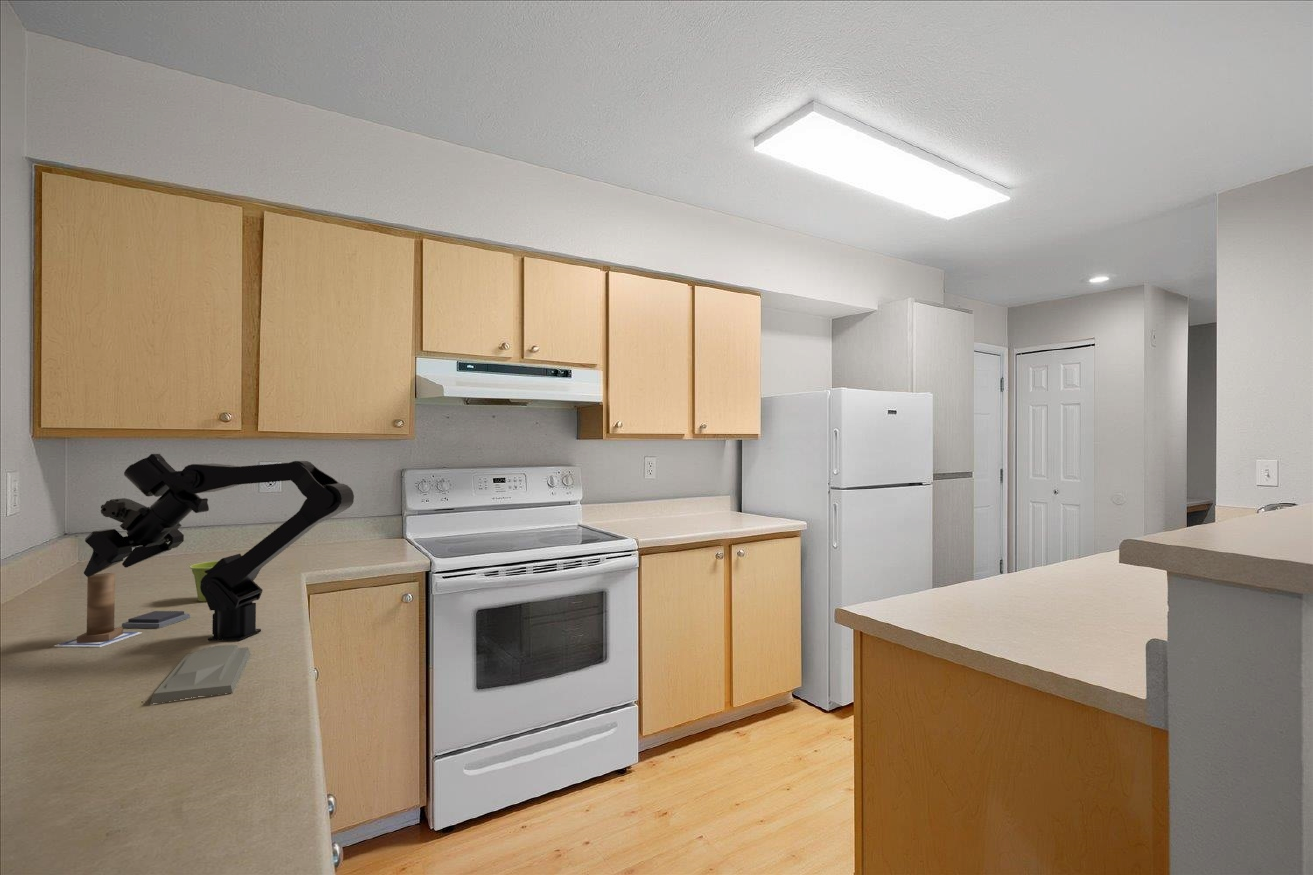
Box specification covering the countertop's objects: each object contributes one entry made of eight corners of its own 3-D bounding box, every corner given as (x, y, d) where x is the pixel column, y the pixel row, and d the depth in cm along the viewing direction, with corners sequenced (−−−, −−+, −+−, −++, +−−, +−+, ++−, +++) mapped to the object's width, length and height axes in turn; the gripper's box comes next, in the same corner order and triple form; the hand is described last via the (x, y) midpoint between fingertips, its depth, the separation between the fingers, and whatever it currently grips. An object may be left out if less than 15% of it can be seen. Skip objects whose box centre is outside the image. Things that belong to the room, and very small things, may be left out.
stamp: (122, 633, 124) (123, 571, 124) (108, 641, 119) (109, 576, 119) (92, 635, 122) (93, 573, 122) (76, 643, 117) (77, 578, 118)
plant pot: (211, 604, 148) (212, 568, 148) (179, 602, 150) (180, 566, 150) (245, 595, 157) (245, 561, 157) (214, 593, 159) (214, 559, 159)
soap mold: (147, 709, 89) (148, 684, 89) (183, 666, 107) (183, 645, 107) (232, 697, 94) (233, 673, 94) (253, 657, 112) (253, 638, 112)
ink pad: (189, 617, 136) (189, 610, 136) (159, 628, 128) (159, 620, 128) (154, 617, 137) (154, 610, 137) (121, 627, 129) (122, 619, 129)
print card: (141, 633, 125) (141, 631, 125) (99, 647, 116) (99, 645, 116) (99, 632, 125) (99, 630, 125) (53, 646, 116) (53, 644, 116)
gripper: (169, 481, 131) (113, 534, 130) (97, 487, 112) (30, 549, 111) (208, 518, 131) (152, 572, 130) (142, 530, 113) (76, 592, 112)
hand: (105, 570), depth 121 cm, fingers open, 9 cm apart
